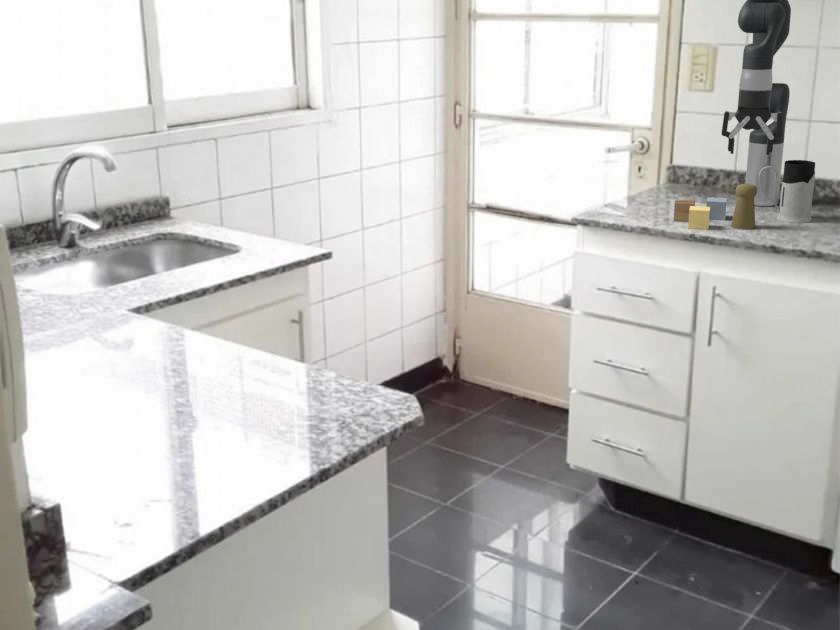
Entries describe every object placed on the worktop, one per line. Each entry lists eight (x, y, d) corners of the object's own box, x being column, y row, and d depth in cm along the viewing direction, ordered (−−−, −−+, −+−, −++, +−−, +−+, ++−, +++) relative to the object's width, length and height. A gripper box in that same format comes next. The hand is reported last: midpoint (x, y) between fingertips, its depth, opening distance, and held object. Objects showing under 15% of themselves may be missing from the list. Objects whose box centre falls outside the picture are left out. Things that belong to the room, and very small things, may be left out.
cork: (752, 224, 258) (756, 182, 255) (757, 229, 252) (761, 186, 249) (728, 224, 259) (732, 181, 255) (733, 229, 253) (737, 186, 250)
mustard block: (688, 224, 259) (690, 206, 257) (708, 225, 258) (710, 206, 256) (687, 229, 254) (689, 209, 253) (708, 230, 253) (709, 210, 251)
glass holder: (814, 223, 258) (820, 165, 253) (756, 221, 261) (761, 164, 256) (809, 216, 266) (815, 159, 261) (753, 214, 269) (758, 158, 264)
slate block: (705, 215, 269) (707, 197, 267) (725, 216, 267) (726, 198, 266) (705, 219, 264) (706, 201, 263) (725, 220, 263) (726, 202, 261)
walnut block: (674, 217, 267) (675, 199, 266) (693, 218, 266) (695, 200, 264) (673, 221, 263) (674, 202, 261) (693, 222, 261) (694, 203, 260)
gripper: (785, 86, 246) (778, 152, 251) (725, 86, 250) (720, 150, 255) (786, 89, 239) (780, 157, 244) (725, 88, 243) (719, 155, 248)
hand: (749, 153), depth 250 cm, fingers open, 8 cm apart
